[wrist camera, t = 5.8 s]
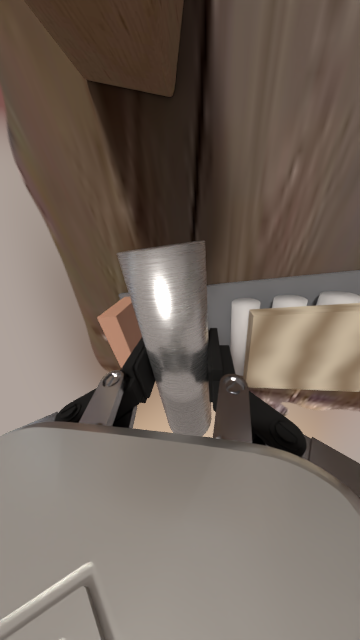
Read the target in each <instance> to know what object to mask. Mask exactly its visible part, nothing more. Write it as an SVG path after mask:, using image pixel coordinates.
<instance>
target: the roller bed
mask: <svg viewBox="0 0 360 640" xmlns="http://www.w3.org/2000/svg"><path fill="white" fill-rule="evenodd" d="M359 295H360V270H356V271H345V272H335V273H325V274H315V275H304V276H294V277H284V278H274V279H263V280H253V281H243V282H233V283H223V284H212V285H207V309H208V330H210V328H217V331H218V338H219V345H229V347H230V351H231V356H232V360H233V365H234V369H235V373H236V374H237V375H241V376H243V373H244V362H245V352H246V342H247V331H248V321H249V310H250V309H267V308H284V307H300V306H317V305H333V304H350V303H360V296H359ZM119 297H120V301H118V302H117V303H116V304H114V305H113V306H112V307H110V308H109V309H108V310H106V311H105V312H104V313H102V314H101V315H100V316H99V317H97V319H98V321H99V323H100V325H101V327H102V329H103V331H104V333H105V335H106V337H107V339H108V342H109V344H110V346H111V348H112V350H113V352H114V354H115V356H116V358H117V360H118V362H119V364H120V366H121V368H122V367H123V365H124V364H125V362H126V360H127V359H128V357H129V356H130V354H131V353H132V351H133V349H134V348H135V347H136V345H137V344H138V342H139V341H140V339H141V337H142V334H141V331H140V328H139V325H138V321H137V318H136V315H135V312H134V308H133V305H132V302H131V298H130V295H129V293H121V294H119Z"/></svg>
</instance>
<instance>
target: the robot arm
mask: <svg viewBox="0 0 360 640" xmlns="http://www.w3.org/2000/svg"><path fill="white" fill-rule="evenodd" d="M208 338H209V344H208V348H207V350H208V380H209V402H213V409H214V411H215V412H216V416H215V425H214V433H213V438H210V437H201V436H193V435H184V434H176V433H167V432H158V431H149V430H140V429H132V428H133V424H134V419H135V414H136V410H137V405H138V404H139V403H146V400H147V398H149V397H150V395H151V392H152V389H153V386H154V383H155V377H154V374H153V370H152V367H151V364H150V361H149V357H148V354H147V351H146V348H145V344H144V341H143V338H142V337H141V339H140V341H139V342H138V344H137V345H136V347H135V348H134V349H133V351H132V353H131V354H130V356H129V357H128V359H127V360H126V362H125V364H124V365H123V367H122V368H121V370H120V371H119V370H115V371H112V372H109V373H108V374H106V375H105V376H104V377H103V378H102V380H101V381H100V383H99V385H98V387H97V388H96V389H94V390H93V391H91V392H89V393H87V394H85V395H84V396H82V397H80V398H78V399H76V400H75V401H73V402H71V403H69V404H68V405H66V406H65V407H64V408H63V409H62V410H61V411H60V412H59V413H58V412H55V413H53V414H51V415H49V416H46V417H44V418H42V419H39V420H37V421H35V422H32V423H30V424H28V425H25V426H23V427H20V428H18V429H15V430H13V431H10V432H8V433H6V434H4V435H2V436H1V437H0V640H360V464H359V463H357V462H356V461H354V460H352V459H351V458H349V457H347V456H345V455H343V454H342V453H340V452H338V451H336V450H335V449H333V448H331V447H329V446H328V445H326V444H324V443H322V442H320V441H319V440H317V439H315V438H313V437H312V438H309V437H307V436H305V435H304V434H303V433H302V432H301V431H300V429H299V428H298V427H297V426H296V425H295V424H294V423H293V422H291V421H290V420H288V419H287V418H286V417H284V416H283V415H282V414H280V413H279V412H278V411H276V410H275V409H273V408H272V407H271V406H269V405H268V404H266V403H265V402H264V401H262V400H261V399H260V398H258V397H257V396H255V395H254V394H253V393H251V392H250V391H249V388H248V384H247V382H246V381H245V380H244V379H243V378H242V377H240V376H239V375H236V373H235V369H234V365H233V360H232V356H231V351H230V347H229V345H219V338H218V331H217V328H210V330H208Z"/></svg>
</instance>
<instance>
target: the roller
mask: <svg viewBox="0 0 360 640" xmlns="http://www.w3.org/2000/svg"><path fill="white" fill-rule="evenodd" d="M117 256H118V259H119V262H120V266H121V269H122V272H123V275H124V279H125V282H126V285H127V289H128V292H129V295H130V298H131V302H132V305H133V308H134V312H135V315H136V318H137V321H138V325H139V328H140V331H141V334H142V338H143V341H144V344H145V348H146V351H147V354H148V357H149V361H150V364H151V367H152V370H153V374H154V377H155V380H156V384H157V387H158V390H159V393H160V397H161V400H162V403H163V406H164V410H165V413H166V416H167V419H168V423H169V426H170V428H171V430H172V431H173V433H176V434H184V435H193V436H203V435H204V434H205V433H206V431H207V430H208V428H209V426H210V423H211V402H209V380H208V350H207V348H208V344H209V338H208V309H207V281H206V253H205V241H195V242H186V243H179V244H171V245H164V246H157V247H150V248H144V249H137V250H131V251H125V252H120V253H117Z"/></svg>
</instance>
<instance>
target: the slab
mask: <svg viewBox="0 0 360 640" xmlns="http://www.w3.org/2000/svg"><path fill="white" fill-rule="evenodd" d="M243 379H244V380H245V381H246V382H247V384H248V387H257V388H281V389H305V390H330V391H354V392H359V390H360V303H350V304H333V305H317V306H300V307H284V308H267V309H250V310H249V321H248V331H247V342H246V352H245V362H244V373H243Z"/></svg>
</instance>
